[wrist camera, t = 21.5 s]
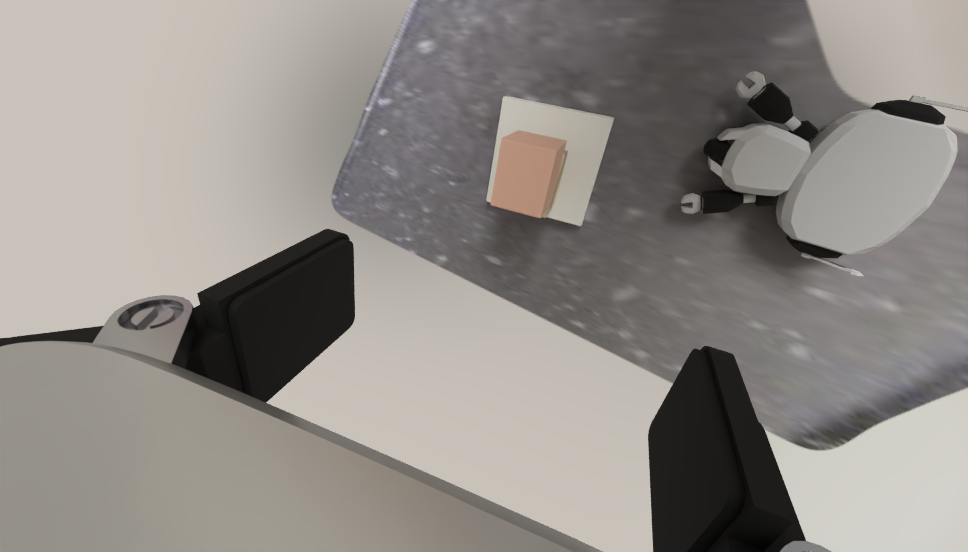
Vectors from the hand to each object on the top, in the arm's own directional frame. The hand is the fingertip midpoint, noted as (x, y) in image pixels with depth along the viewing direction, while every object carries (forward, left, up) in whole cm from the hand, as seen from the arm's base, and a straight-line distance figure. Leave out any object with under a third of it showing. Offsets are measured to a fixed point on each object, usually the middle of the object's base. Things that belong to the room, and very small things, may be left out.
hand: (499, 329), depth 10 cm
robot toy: (-2, +16, -31) cm, 35 cm away
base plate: (+2, -4, -30) cm, 31 cm away
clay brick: (+1, -4, -24) cm, 24 cm away
